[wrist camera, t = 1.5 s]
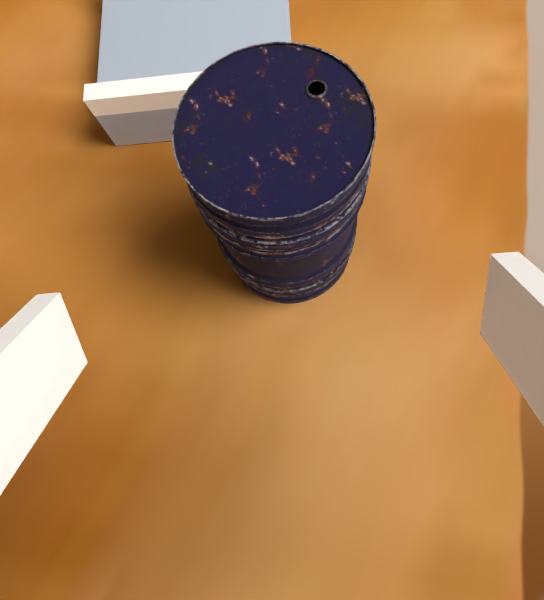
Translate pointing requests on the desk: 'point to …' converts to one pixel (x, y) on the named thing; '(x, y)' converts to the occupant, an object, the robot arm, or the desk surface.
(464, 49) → the desk surface
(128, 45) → the tray
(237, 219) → the rusty blue oil drum
